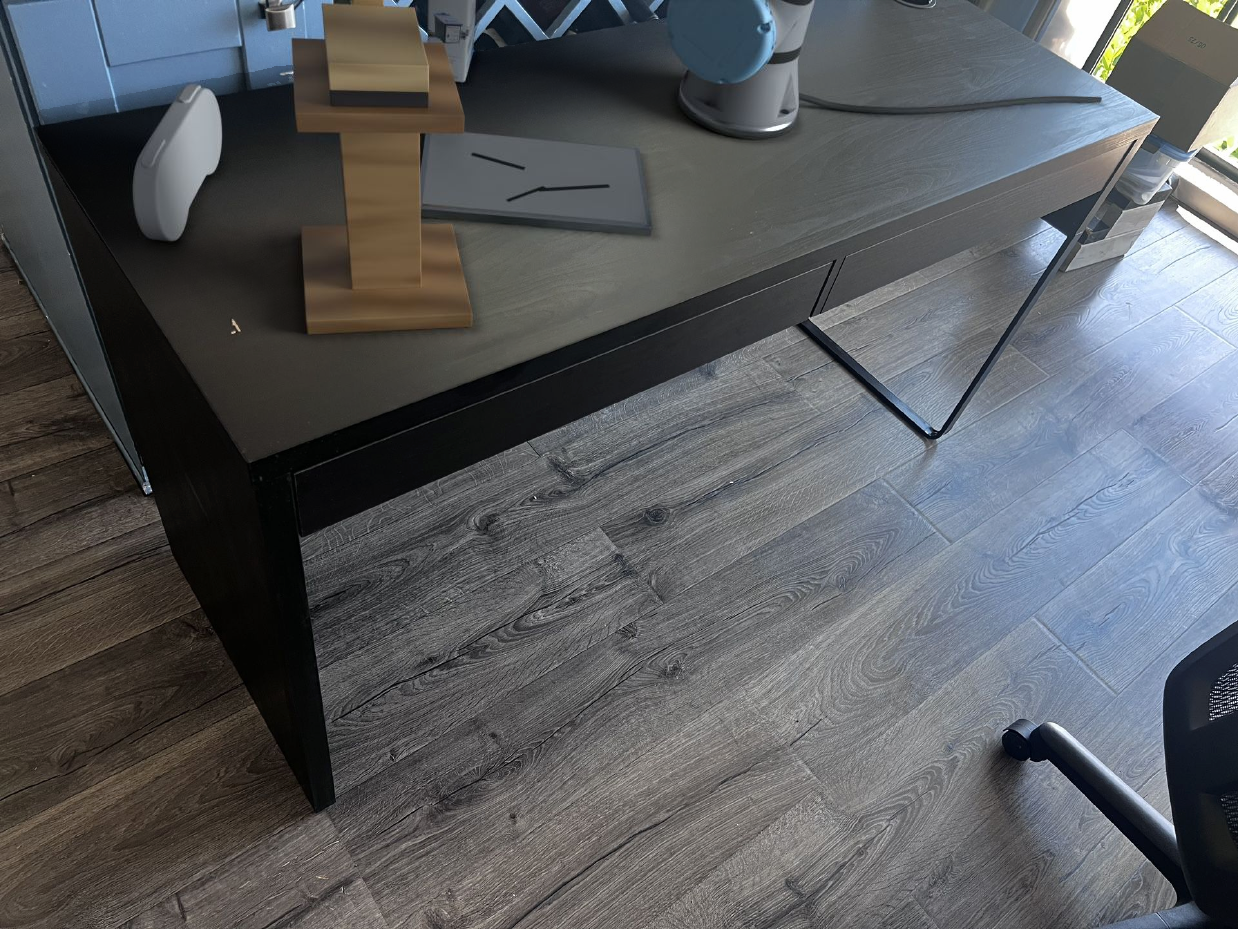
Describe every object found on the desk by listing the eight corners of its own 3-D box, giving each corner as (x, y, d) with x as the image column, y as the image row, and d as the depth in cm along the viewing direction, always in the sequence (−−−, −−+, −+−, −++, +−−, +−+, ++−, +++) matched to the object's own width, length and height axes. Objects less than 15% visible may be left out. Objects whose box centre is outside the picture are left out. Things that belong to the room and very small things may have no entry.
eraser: (429, 108, 70) (428, 57, 67) (331, 106, 68) (326, 54, 65) (400, -14, 84) (399, -60, 81) (318, -18, 82) (314, -65, 79)
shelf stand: (472, 327, 84) (479, 122, 70) (307, 334, 80) (280, 119, 66) (451, 236, 93) (454, 37, 78) (302, 239, 89) (277, 31, 75)
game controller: (204, 146, 97) (188, 67, 91) (227, 149, 97) (213, 70, 91) (143, 256, 84) (120, 172, 78) (169, 259, 84) (149, 176, 78)
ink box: (436, 47, 120) (437, -52, 111) (476, 53, 120) (479, -45, 112) (426, 77, 114) (425, -25, 105) (467, 83, 114) (470, -17, 106)
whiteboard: (637, 156, 108) (639, 146, 108) (651, 236, 98) (653, 225, 97) (426, 136, 105) (426, 125, 104) (415, 216, 94) (415, 205, 93)
